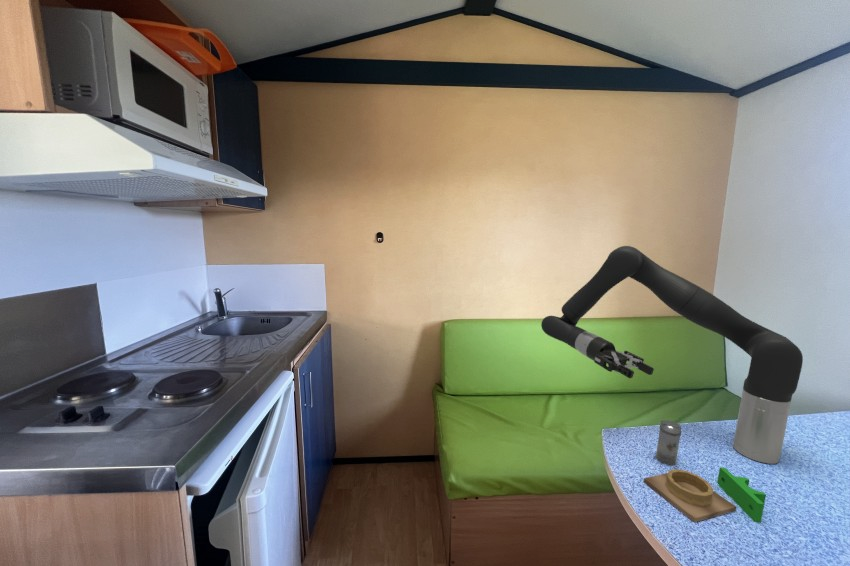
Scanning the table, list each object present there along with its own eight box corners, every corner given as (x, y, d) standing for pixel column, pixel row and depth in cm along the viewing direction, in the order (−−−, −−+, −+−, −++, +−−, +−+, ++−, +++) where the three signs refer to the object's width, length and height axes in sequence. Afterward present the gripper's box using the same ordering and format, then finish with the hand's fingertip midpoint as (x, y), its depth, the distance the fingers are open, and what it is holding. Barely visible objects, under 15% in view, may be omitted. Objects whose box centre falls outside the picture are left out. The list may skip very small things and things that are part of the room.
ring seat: (681, 473, 86) (683, 460, 86) (735, 510, 75) (738, 496, 75) (643, 482, 83) (645, 468, 83) (694, 522, 72) (696, 507, 71)
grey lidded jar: (664, 453, 94) (669, 419, 93) (680, 464, 90) (686, 428, 88) (651, 455, 93) (655, 421, 92) (667, 467, 89) (672, 431, 87)
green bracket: (774, 525, 72) (778, 505, 71) (754, 523, 72) (758, 503, 72) (733, 485, 83) (737, 468, 82) (716, 483, 83) (719, 466, 83)
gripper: (580, 337, 106) (629, 363, 92) (612, 334, 112) (662, 359, 98) (575, 359, 108) (621, 388, 94) (606, 355, 114) (654, 382, 100)
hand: (642, 373), depth 96 cm, fingers open, 8 cm apart
